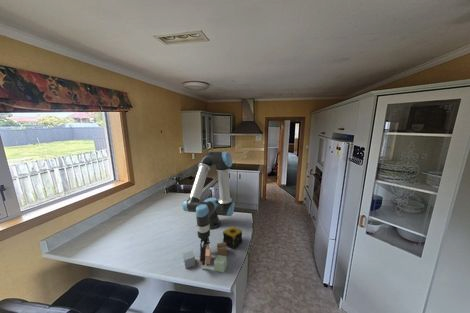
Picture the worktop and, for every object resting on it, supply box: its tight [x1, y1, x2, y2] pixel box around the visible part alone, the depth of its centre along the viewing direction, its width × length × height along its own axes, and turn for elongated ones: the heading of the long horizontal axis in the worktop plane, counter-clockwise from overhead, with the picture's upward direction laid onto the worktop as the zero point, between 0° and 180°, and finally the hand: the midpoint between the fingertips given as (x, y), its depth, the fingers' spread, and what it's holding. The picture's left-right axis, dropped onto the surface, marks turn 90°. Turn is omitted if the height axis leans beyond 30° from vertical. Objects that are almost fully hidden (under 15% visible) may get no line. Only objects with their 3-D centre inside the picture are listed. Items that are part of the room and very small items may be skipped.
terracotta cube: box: [199, 248, 212, 266], centre depth 113 cm, size 6×6×6 cm
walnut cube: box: [216, 242, 228, 257], centre depth 119 cm, size 6×6×6 cm
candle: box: [222, 225, 243, 250], centre depth 129 cm, size 10×10×10 cm
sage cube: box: [213, 254, 228, 273], centre depth 107 cm, size 6×6×6 cm
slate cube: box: [182, 250, 196, 270], centre depth 112 cm, size 6×6×6 cm
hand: (205, 260), depth 114 cm, fingers open, 12 cm apart
